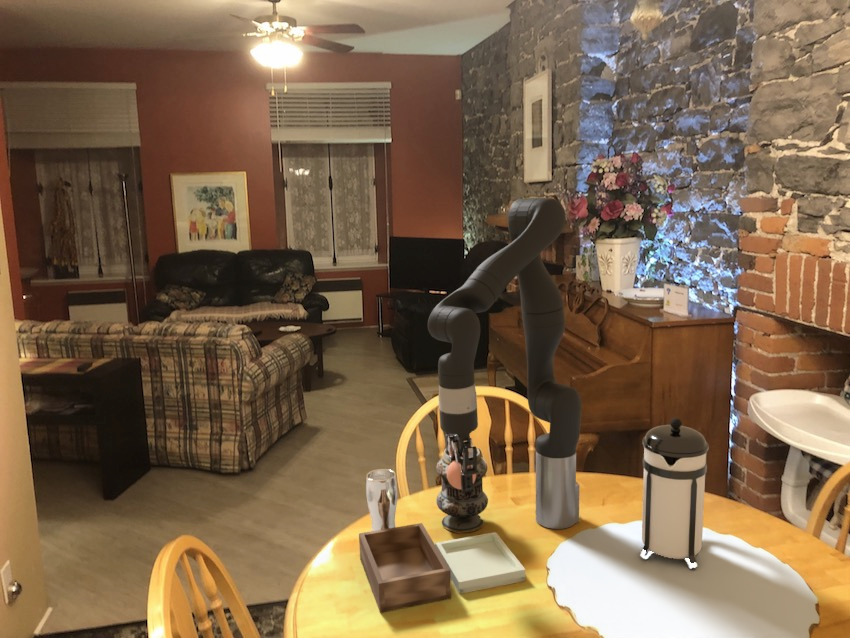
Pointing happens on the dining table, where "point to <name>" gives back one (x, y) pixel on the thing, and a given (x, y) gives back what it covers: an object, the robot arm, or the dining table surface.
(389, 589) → the crate
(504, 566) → the tray
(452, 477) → the ball
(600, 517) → the dining table surface
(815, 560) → the dining table surface
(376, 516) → the beer glass
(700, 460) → the coffee press
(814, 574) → the dining table surface
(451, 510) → the apothecary jar
